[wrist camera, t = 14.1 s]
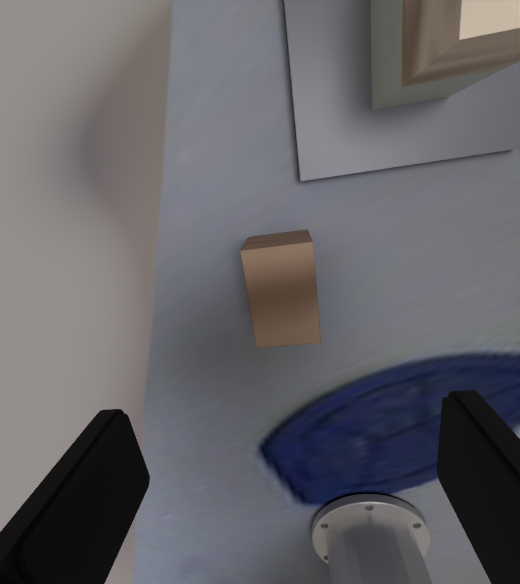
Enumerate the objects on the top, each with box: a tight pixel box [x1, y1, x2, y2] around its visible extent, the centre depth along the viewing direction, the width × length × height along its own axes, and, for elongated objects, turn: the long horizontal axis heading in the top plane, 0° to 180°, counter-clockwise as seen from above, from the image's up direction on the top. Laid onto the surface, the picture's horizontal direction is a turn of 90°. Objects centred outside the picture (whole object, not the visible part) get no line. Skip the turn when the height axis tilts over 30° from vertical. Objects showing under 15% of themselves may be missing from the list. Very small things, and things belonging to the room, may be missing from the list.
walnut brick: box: [240, 230, 321, 348], centre depth 22 cm, size 7×4×5 cm, turn 8°
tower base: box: [283, 0, 520, 181], centre depth 15 cm, size 14×14×6 cm
